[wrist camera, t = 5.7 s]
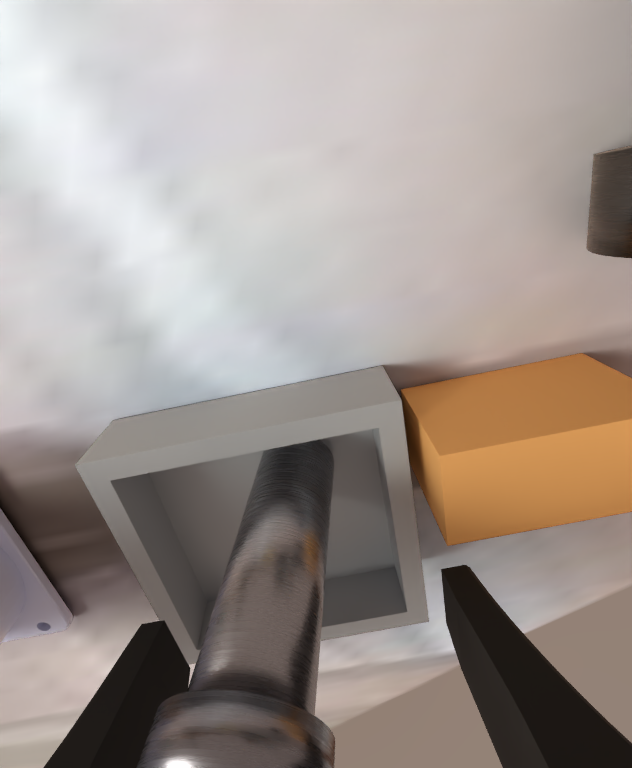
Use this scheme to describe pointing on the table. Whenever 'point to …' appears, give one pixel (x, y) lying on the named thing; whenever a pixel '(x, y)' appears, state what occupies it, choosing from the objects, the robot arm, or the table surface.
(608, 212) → the toy wheeled cart
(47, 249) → the table surface
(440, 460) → the block
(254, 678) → the pin
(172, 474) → the tray
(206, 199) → the table surface
